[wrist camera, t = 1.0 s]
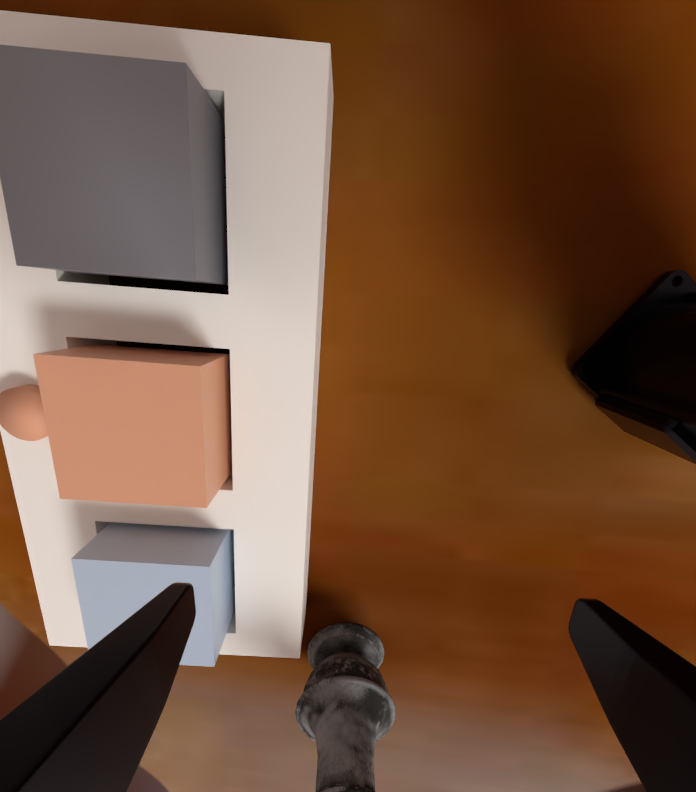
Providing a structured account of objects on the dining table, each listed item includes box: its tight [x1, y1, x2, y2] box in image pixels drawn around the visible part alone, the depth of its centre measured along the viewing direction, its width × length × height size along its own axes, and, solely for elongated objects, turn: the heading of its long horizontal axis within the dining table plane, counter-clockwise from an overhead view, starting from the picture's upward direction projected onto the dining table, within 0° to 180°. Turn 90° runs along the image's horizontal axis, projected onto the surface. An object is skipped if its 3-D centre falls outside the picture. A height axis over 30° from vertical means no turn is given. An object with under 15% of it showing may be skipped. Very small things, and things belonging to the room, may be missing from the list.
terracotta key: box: [33, 344, 231, 508], centre depth 14 cm, size 6×6×3 cm
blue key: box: [71, 522, 234, 667], centre depth 17 cm, size 6×6×3 cm
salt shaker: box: [296, 623, 395, 792], centre depth 17 cm, size 6×6×12 cm
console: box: [0, 10, 334, 658], centre depth 16 cm, size 28×14×4 cm, turn 176°
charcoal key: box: [0, 45, 227, 285], centre depth 12 cm, size 6×6×3 cm
